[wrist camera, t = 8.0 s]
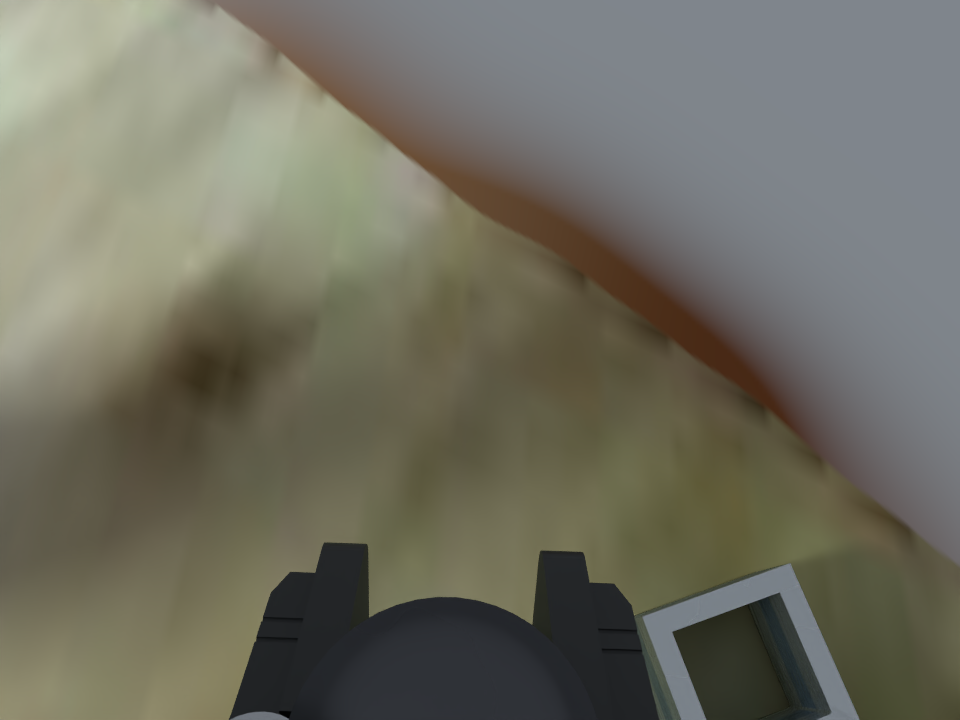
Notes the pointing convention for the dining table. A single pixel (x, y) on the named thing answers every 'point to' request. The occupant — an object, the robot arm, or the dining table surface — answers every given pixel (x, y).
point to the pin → (443, 669)
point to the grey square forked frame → (784, 630)
